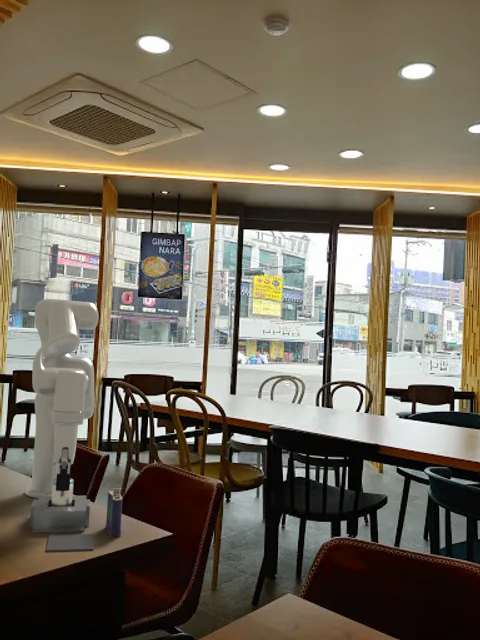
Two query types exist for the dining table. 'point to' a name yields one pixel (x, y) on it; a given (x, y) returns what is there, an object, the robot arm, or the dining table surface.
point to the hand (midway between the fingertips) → (63, 486)
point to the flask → (114, 513)
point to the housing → (59, 515)
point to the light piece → (62, 496)
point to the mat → (70, 542)
